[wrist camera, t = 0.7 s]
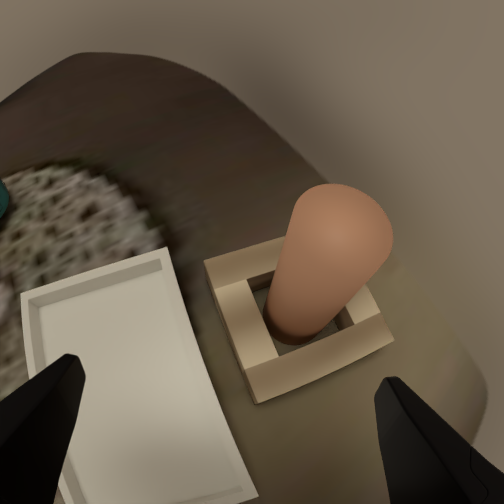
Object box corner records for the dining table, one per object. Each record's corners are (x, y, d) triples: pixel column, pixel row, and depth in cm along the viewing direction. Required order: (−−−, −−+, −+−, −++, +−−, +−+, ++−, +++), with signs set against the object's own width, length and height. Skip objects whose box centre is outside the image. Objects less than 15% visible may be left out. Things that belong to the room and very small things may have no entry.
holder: (378, 349, 24) (394, 340, 22) (254, 404, 22) (258, 403, 19) (322, 240, 29) (330, 222, 27) (205, 277, 27) (203, 260, 24)
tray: (255, 488, 18) (259, 496, 16) (89, 522, 15) (77, 529, 13) (171, 261, 27) (166, 246, 25) (34, 304, 24) (20, 293, 22)
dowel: (332, 331, 25) (410, 253, 14) (277, 354, 24) (323, 289, 13) (307, 280, 27) (359, 176, 16) (253, 298, 26) (274, 196, 15)
